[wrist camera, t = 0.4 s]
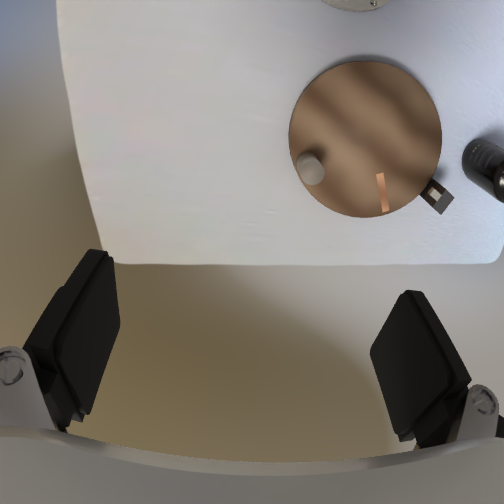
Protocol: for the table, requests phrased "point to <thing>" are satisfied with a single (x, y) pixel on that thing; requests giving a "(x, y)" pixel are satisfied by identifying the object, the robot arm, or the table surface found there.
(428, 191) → the index pointer
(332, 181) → the disc
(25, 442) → the robot arm
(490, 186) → the supplement bottle
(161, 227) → the table surface
